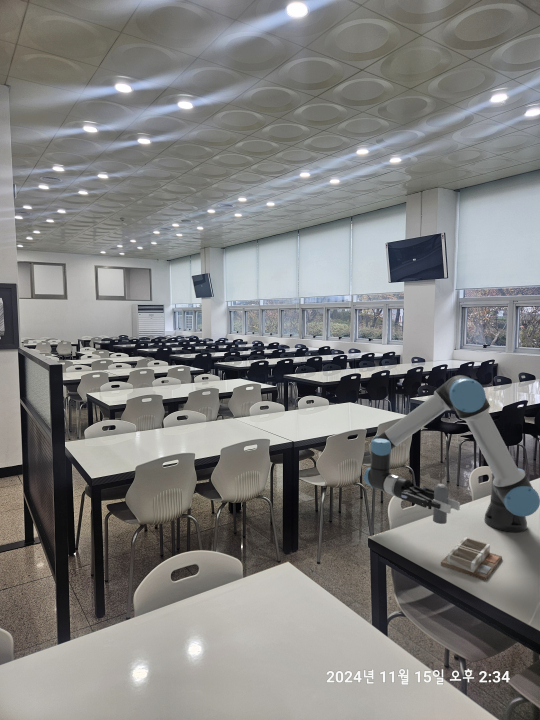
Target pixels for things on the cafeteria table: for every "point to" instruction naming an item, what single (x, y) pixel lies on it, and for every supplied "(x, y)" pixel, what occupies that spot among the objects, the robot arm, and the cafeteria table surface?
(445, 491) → the plug
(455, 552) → the socket board
